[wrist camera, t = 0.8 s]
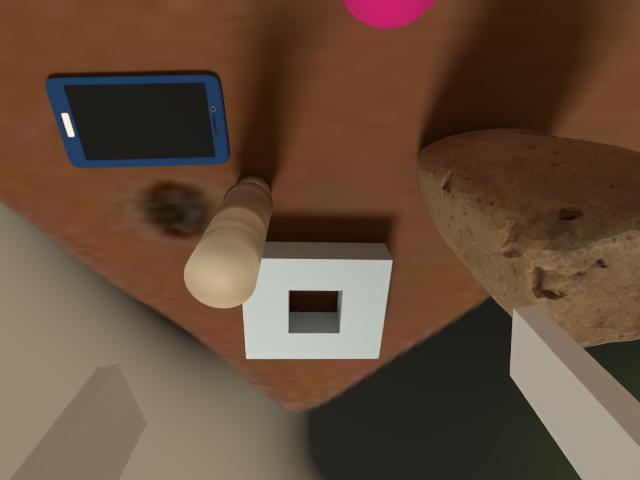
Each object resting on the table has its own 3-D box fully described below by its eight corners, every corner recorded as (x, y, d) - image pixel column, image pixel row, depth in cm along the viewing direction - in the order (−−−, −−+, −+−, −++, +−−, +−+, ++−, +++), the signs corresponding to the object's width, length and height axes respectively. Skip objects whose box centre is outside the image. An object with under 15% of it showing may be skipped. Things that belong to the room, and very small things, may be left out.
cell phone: (46, 77, 29) (40, 77, 29) (220, 73, 30) (218, 73, 29) (75, 166, 33) (70, 169, 32) (231, 162, 33) (230, 164, 32)
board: (245, 241, 36) (239, 258, 33) (385, 243, 37) (392, 260, 34) (250, 336, 41) (246, 358, 38) (372, 336, 42) (378, 358, 39)
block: (416, 217, 36) (532, 373, 18) (406, 141, 32) (536, 238, 14) (528, 190, 35) (766, 325, 17) (529, 110, 32) (826, 172, 14)
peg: (229, 170, 33) (177, 245, 19) (275, 171, 33) (256, 246, 20) (232, 213, 35) (187, 309, 21) (276, 214, 35) (259, 309, 21)
